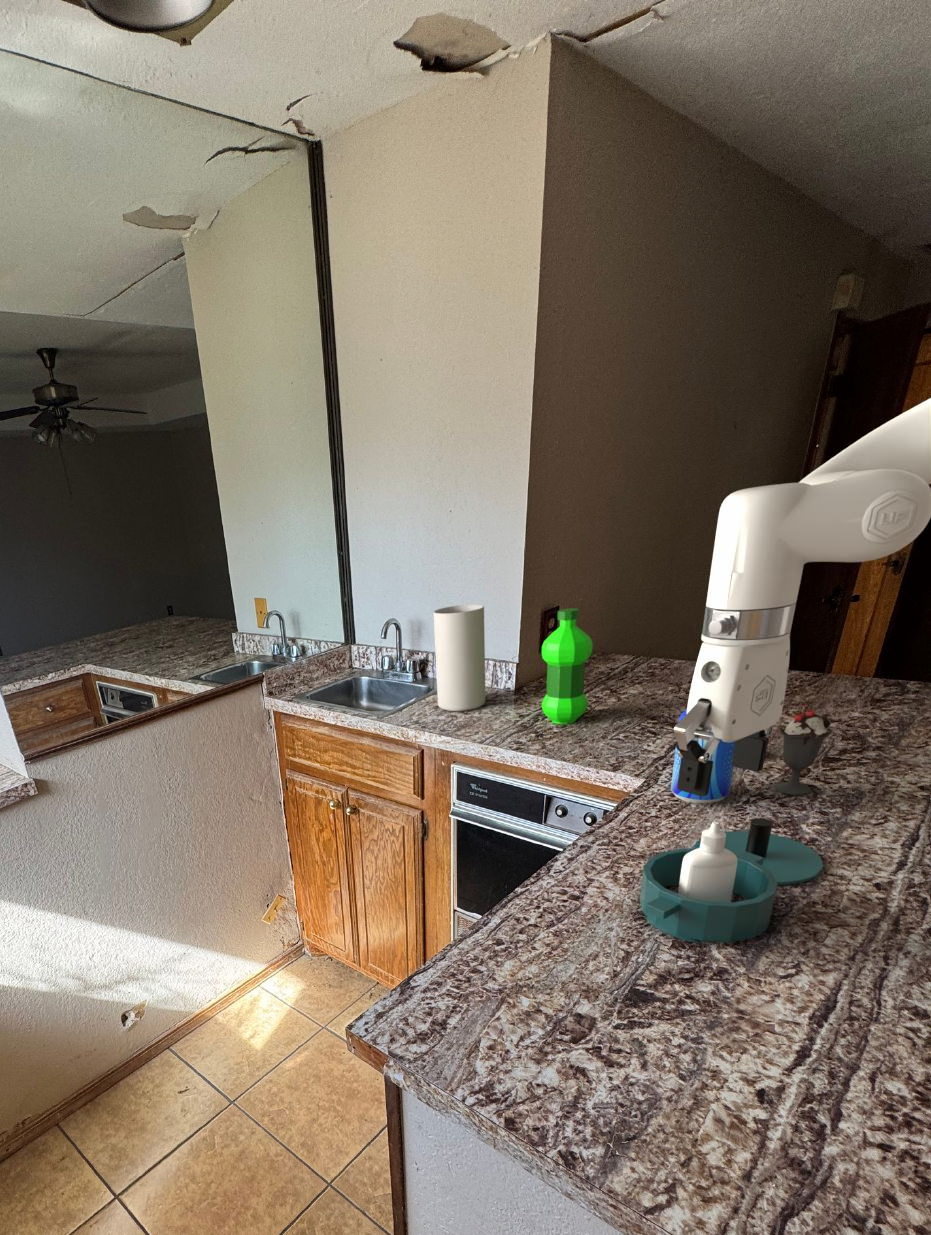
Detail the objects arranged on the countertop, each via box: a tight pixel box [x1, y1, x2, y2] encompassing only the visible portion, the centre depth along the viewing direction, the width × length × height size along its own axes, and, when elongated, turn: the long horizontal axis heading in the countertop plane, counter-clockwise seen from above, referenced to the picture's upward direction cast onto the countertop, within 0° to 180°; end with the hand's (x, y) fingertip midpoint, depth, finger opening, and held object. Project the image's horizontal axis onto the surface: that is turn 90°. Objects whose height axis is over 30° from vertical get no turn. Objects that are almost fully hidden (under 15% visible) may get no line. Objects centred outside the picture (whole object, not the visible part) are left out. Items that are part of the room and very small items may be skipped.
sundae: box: [773, 701, 833, 796], centre depth 103 cm, size 7×7×15 cm
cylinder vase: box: [433, 603, 486, 712], centre depth 169 cm, size 12×12×25 cm
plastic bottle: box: [541, 607, 594, 725], centre depth 146 cm, size 10×10×25 cm
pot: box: [639, 848, 778, 945], centre depth 79 cm, size 14×19×6 cm
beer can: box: [670, 703, 735, 804], centre depth 104 cm, size 8×8×16 cm
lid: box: [693, 817, 824, 886], centre depth 87 cm, size 15×15×6 cm
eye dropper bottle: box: [677, 821, 738, 902], centre depth 77 cm, size 4×6×12 cm
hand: (719, 780), depth 73 cm, fingers open, 9 cm apart
